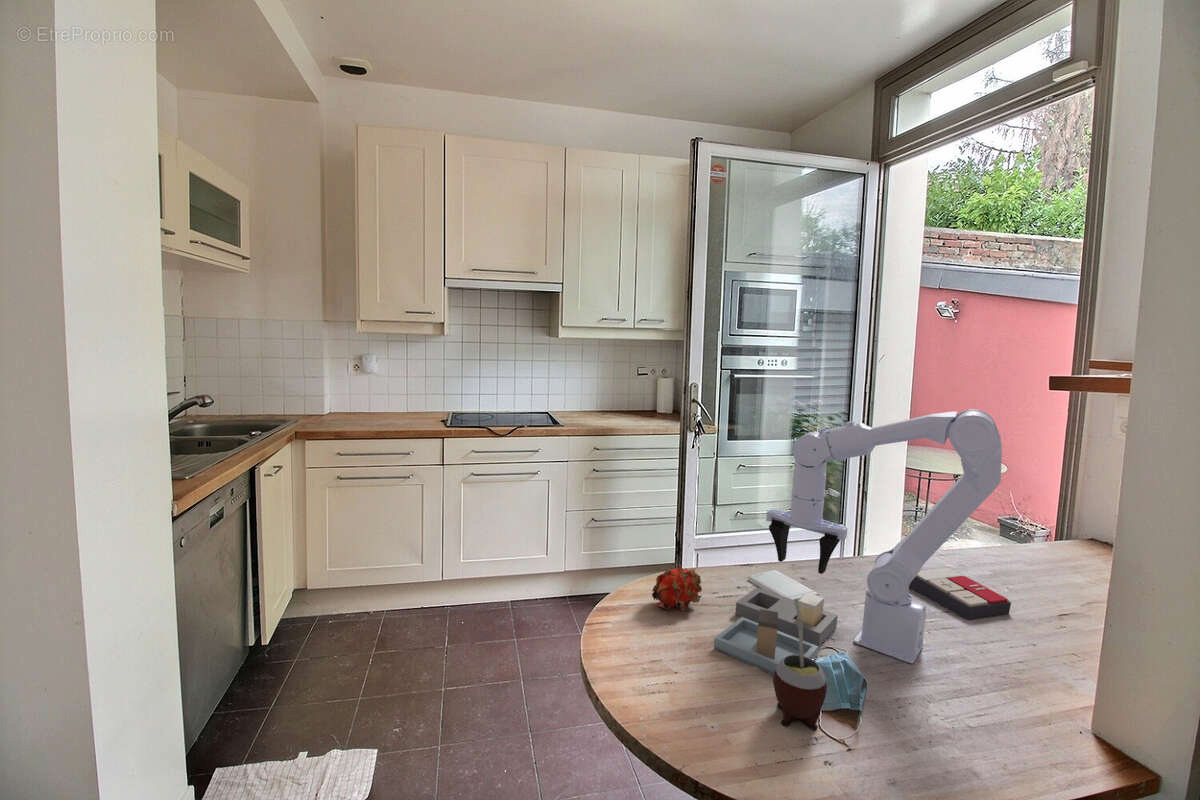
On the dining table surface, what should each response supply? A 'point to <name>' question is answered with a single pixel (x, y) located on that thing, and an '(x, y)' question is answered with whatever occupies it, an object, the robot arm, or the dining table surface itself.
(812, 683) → the mate gourd
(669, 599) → the dragon fruit
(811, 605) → the block
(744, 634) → the parts tray
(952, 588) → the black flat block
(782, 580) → the hard drive
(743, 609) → the block
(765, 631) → the block
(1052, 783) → the dining table surface
